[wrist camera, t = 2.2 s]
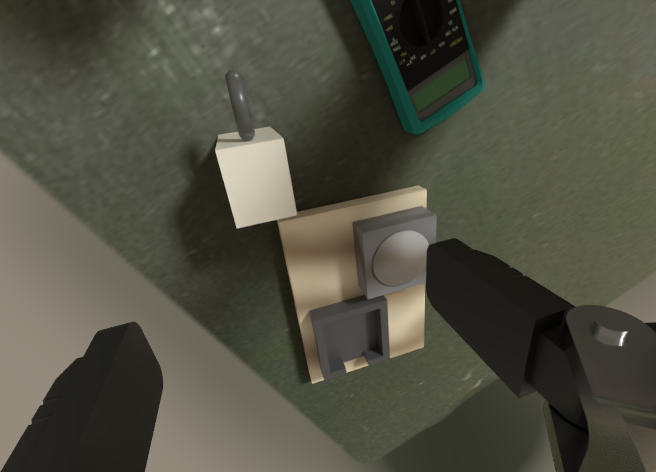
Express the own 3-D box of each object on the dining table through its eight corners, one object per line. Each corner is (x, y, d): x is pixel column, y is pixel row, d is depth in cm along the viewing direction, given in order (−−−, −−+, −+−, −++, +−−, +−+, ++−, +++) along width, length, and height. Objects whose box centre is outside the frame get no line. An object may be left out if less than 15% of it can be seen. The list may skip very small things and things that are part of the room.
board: (276, 216, 28) (283, 235, 25) (418, 185, 31) (443, 198, 27) (309, 373, 37) (318, 404, 34) (417, 338, 40) (436, 363, 36)
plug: (203, 77, 23) (193, 72, 17) (259, 69, 23) (269, 63, 17) (236, 203, 27) (239, 236, 21) (283, 193, 28) (298, 223, 22)
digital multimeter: (409, -116, 22) (433, -143, 19) (470, 90, 29) (493, 90, 26) (320, -55, 22) (332, -74, 19) (403, 135, 29) (419, 140, 26)
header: (309, 310, 32) (313, 321, 30) (380, 290, 33) (387, 300, 32) (320, 368, 35) (324, 380, 34) (383, 348, 37) (390, 359, 35)
